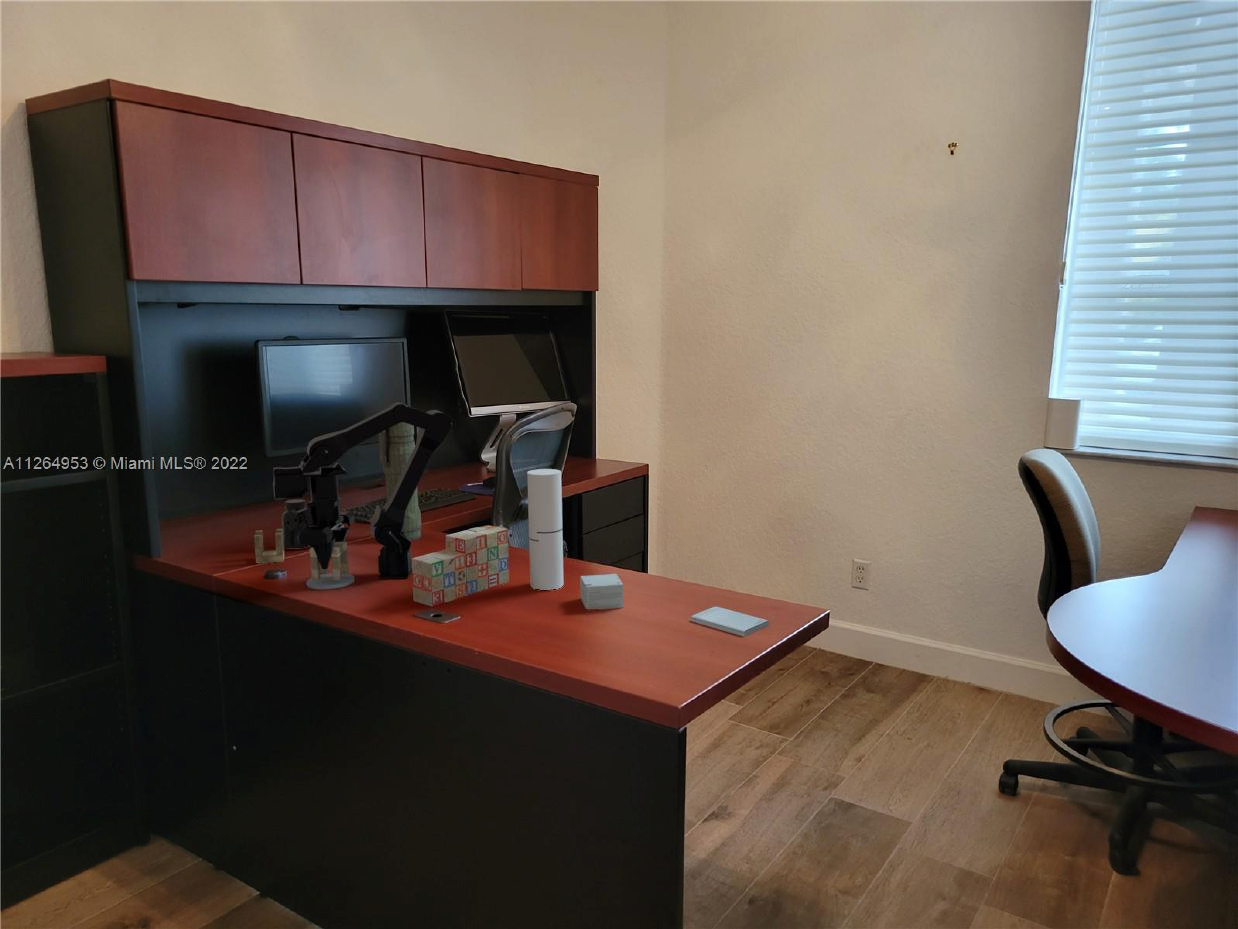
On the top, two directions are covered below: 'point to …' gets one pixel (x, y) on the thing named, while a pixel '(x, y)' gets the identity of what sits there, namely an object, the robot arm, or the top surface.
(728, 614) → the hard drive
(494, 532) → the stack of blocks
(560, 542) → the cylindrical container
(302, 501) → the supplement bottle
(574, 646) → the top surface
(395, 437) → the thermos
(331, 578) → the pad
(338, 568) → the wooden stool
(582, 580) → the stack of note paper
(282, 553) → the upturned stool
